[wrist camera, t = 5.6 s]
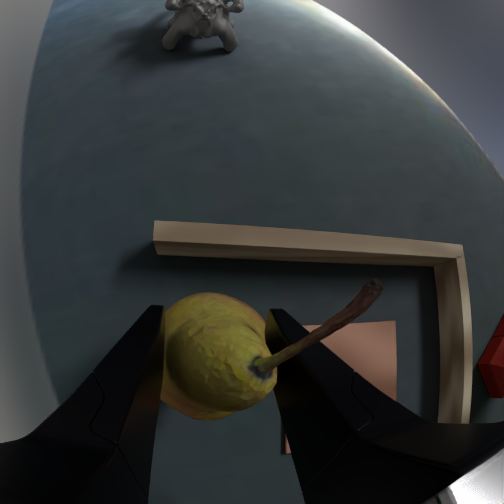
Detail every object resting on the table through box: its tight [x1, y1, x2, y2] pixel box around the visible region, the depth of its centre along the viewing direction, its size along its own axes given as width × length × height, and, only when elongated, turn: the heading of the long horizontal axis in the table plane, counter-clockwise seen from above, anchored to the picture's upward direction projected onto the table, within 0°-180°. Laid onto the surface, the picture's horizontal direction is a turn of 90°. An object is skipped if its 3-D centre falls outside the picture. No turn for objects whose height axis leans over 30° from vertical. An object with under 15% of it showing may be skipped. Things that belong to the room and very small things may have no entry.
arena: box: [153, 221, 472, 453], centre depth 18 cm, size 18×24×3 cm
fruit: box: [160, 278, 383, 420], centre depth 9 cm, size 6×6×12 cm
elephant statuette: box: [162, 0, 244, 52], centre depth 23 cm, size 9×12×8 cm
